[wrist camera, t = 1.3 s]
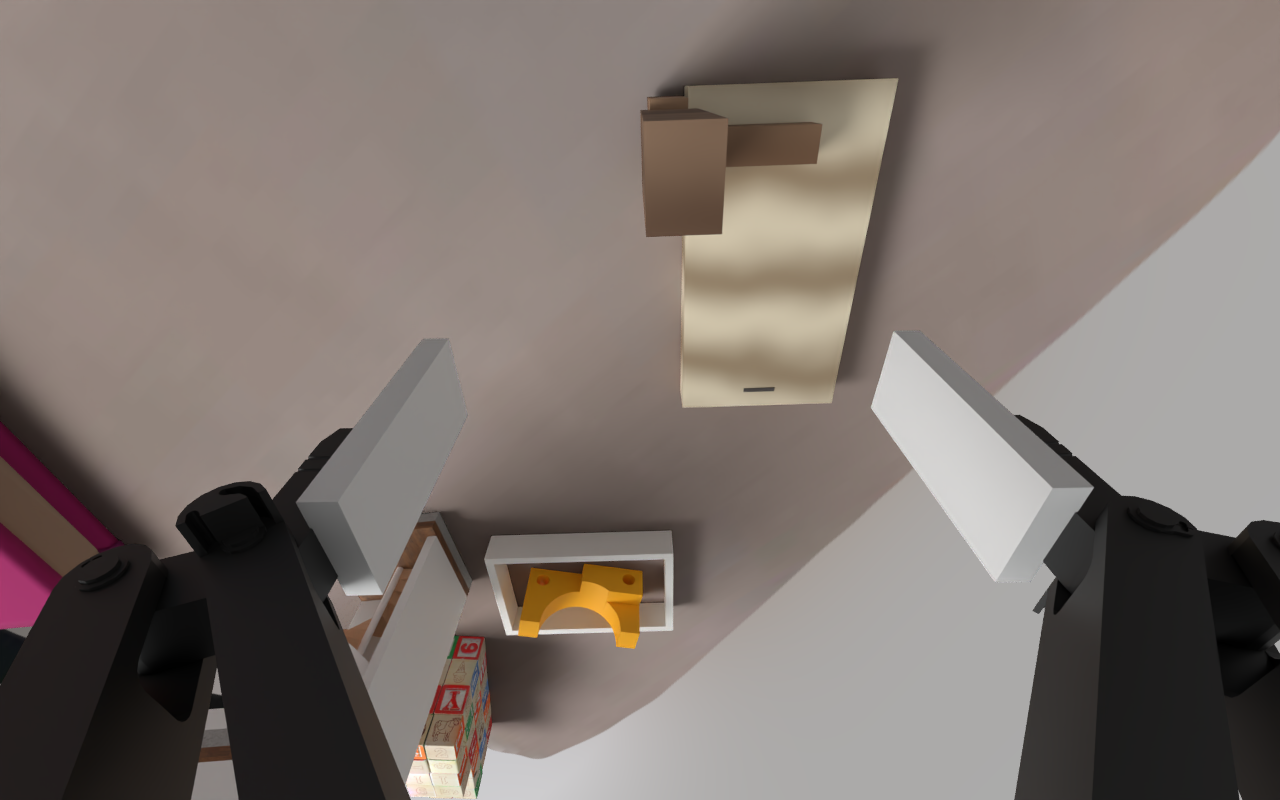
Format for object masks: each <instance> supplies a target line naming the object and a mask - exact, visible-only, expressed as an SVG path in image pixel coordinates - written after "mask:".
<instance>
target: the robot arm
mask: <svg viewBox="0 0 1280 800" xmlns="http://www.w3.org/2000/svg"><path fill="white" fill-rule="evenodd" d="M871 409H872V410H873V411H874V413H875V414H876V416H877V417H878V418H879V420H880V421H881V423H882V424H883V425H884V427H885V428H886V430H887V431H888V432H889V434H890V435H891V437H892V438H893V440H894V441H895V442H896V444H897V445H898V447H899V448H900V449H901V451H902V452H903V454H904V455H905V456H906V458H907V459H908V461H909V462H910V463H911V465H912V466H913V468H914V469H915V470H916V471H917V473H918V474H919V476H920V477H921V479H922V480H923V482H924V483H925V484H926V486H927V487H928V489H929V490H930V491H931V493H932V494H933V496H934V497H935V498H936V500H937V501H938V503H939V504H940V505H941V507H942V508H943V510H944V511H945V512H946V514H947V515H948V517H949V518H950V520H951V521H952V522H953V524H954V525H955V527H956V528H957V529H958V531H959V532H960V534H961V535H962V536H963V538H964V539H965V541H966V542H967V543H968V545H969V546H970V547H971V549H972V550H973V552H974V553H975V555H976V556H977V557H978V559H979V560H980V562H981V563H982V564H983V566H984V567H985V569H986V570H987V571H988V573H989V574H990V576H991V577H992V579H993V580H994V581H995V582H1031V581H1032V579H1033V577H1034V576H1035V575H1036V573H1037V572H1038V570H1039V569H1040V567H1041V566H1042V564H1043V563H1045V564H1046V565H1047V567H1048V568H1049V569H1050V570H1051V572H1052V573H1053V574H1054V575H1055V576H1056V578H1055V579H1054V581H1053V582H1052V583H1051V585H1050V586H1049V588H1048V589H1047V591H1046V592H1045V593H1044V595H1043V596H1042V598H1041V599H1040V600H1039V602H1038V603H1037V605H1036V606H1035V608H1034V609H1033V611H1034V612H1036V613H1038V614H1039V613H1040V612H1041V610H1042V609H1043V608H1045V612H1044V618H1043V625H1042V631H1041V637H1040V644H1039V650H1038V656H1037V662H1036V668H1035V675H1034V681H1033V687H1032V694H1031V700H1030V706H1029V712H1028V718H1027V725H1026V731H1025V737H1024V744H1023V749H1022V756H1021V762H1020V768H1019V775H1018V781H1017V787H1016V793H1015V799H1014V800H1239V793H1240V795H1241V797H1242V800H1280V653H1279V652H1278V650H1277V648H1276V647H1275V645H1274V644H1275V643H1276V642H1277V641H1279V640H1280V523H1279V522H1272V521H1265V520H1261V521H1254V522H1251V523H1250V524H1249V525H1248V526H1247V527H1246V528H1245V529H1244V530H1243V531H1242V532H1241V533H1240V534H1239V535H1238V536H1237V537H1236V538H1234V537H1229V536H1223V535H1219V534H1214V533H1209V532H1204V531H1199V530H1197V528H1195V527H1194V526H1193V525H1192V524H1191V523H1190V522H1189V521H1188V520H1187V519H1186V518H1184V517H1183V516H1181V515H1180V514H1178V513H1176V512H1175V511H1173V510H1172V509H1170V508H1168V507H1165V506H1163V505H1161V504H1158V503H1156V502H1154V501H1151V500H1147V499H1143V498H1139V497H1135V496H1121V495H1120V494H1119V493H1118V492H1116V491H1115V490H1114V489H1113V488H1112V487H1111V486H1109V485H1108V484H1107V483H1106V482H1105V481H1104V480H1102V479H1101V478H1100V477H1099V476H1098V475H1097V474H1096V473H1094V472H1093V471H1092V470H1091V469H1090V468H1089V467H1087V466H1086V465H1085V464H1084V463H1083V462H1082V461H1081V460H1079V459H1078V458H1077V457H1076V456H1072V453H1071V452H1070V451H1069V450H1068V449H1067V448H1065V447H1064V446H1063V445H1062V444H1059V443H1058V442H1059V441H1058V440H1056V439H1055V438H1054V437H1053V436H1052V435H1051V434H1049V433H1048V432H1047V431H1046V430H1045V429H1044V428H1042V427H1041V426H1039V425H1037V424H1035V423H1033V422H1031V421H1030V420H1028V419H1026V418H1024V417H1022V416H1020V415H1013V414H1012V413H1011V412H1010V411H1008V409H1006V408H1005V407H1004V406H1003V405H1002V404H1001V403H1000V402H999V401H998V400H996V399H995V398H994V397H993V396H992V395H991V394H990V393H989V392H988V391H986V390H985V389H984V388H983V387H982V386H981V385H980V384H979V383H978V382H976V381H975V380H974V379H973V378H972V377H971V376H970V375H969V374H967V373H966V372H965V371H964V370H963V369H962V368H961V367H960V366H959V365H957V364H956V363H955V362H954V361H953V360H952V359H951V358H950V357H949V356H947V355H946V354H945V353H944V352H943V351H942V350H941V349H940V348H939V347H937V346H936V345H935V344H934V343H933V342H932V341H931V340H930V339H929V338H927V337H926V336H925V335H924V334H923V333H922V332H921V331H920V330H919V331H894V332H893V336H892V339H891V342H890V346H889V349H888V352H887V356H886V359H885V362H884V366H883V369H882V372H881V376H880V379H879V382H878V386H877V389H876V393H875V396H874V399H873V403H872V406H871ZM467 416H468V413H467V409H466V405H465V401H464V397H463V393H462V389H461V385H460V381H459V377H458V373H457V369H456V365H455V361H454V357H453V353H452V349H451V345H450V341H449V338H445V339H422V341H421V342H420V343H419V344H418V346H417V347H416V348H415V350H414V351H413V352H412V353H411V355H410V356H409V357H408V359H407V360H406V361H405V362H404V364H403V365H402V366H401V368H400V369H399V370H398V371H397V373H396V374H395V375H394V377H393V378H392V379H391V380H390V382H389V383H388V384H387V386H386V387H385V388H384V389H383V391H382V392H381V393H380V395H379V396H378V397H377V398H376V400H375V401H374V402H373V404H372V405H371V406H370V407H369V409H368V410H367V411H366V413H365V414H364V415H363V416H362V418H361V419H360V420H359V422H358V423H357V424H356V425H355V427H354V428H342V429H339V430H337V431H336V432H334V433H333V434H331V435H330V436H329V437H327V438H326V439H324V440H323V441H321V442H320V443H319V445H318V446H317V447H316V448H315V449H314V451H313V452H312V453H311V454H310V455H309V459H308V460H305V461H304V462H303V464H302V465H301V466H300V467H299V468H298V472H295V473H294V474H293V476H292V477H291V478H290V479H289V480H288V482H287V483H286V484H285V485H284V486H283V488H282V489H281V490H280V491H279V492H278V494H277V495H276V496H275V497H274V498H273V500H272V499H271V497H270V495H269V494H268V492H267V490H266V489H265V488H264V487H263V486H262V485H261V484H260V483H255V482H251V481H247V482H236V483H232V484H228V485H225V486H221V487H218V488H216V489H214V490H212V491H210V492H208V493H205V494H203V495H201V496H200V497H199V498H197V499H196V500H194V501H193V502H192V503H190V504H189V505H187V507H186V508H185V509H184V510H183V511H182V512H181V513H180V515H179V516H178V519H177V522H176V527H177V529H178V530H179V531H180V533H181V534H182V535H183V536H184V538H185V539H186V540H187V542H188V543H189V544H190V546H191V547H192V548H193V550H194V551H193V552H189V553H185V554H181V555H177V556H173V557H169V558H165V559H161V560H159V559H158V557H157V556H156V555H155V554H154V553H153V551H152V550H151V549H149V548H148V547H147V546H146V545H140V544H129V545H124V546H119V547H115V548H112V549H109V550H107V551H104V552H101V553H99V554H96V555H94V556H92V557H90V558H89V559H87V560H85V561H83V562H82V563H80V564H79V565H77V566H76V567H75V568H73V569H72V570H71V571H70V572H68V573H67V574H66V575H65V576H63V577H62V578H61V580H60V581H59V582H58V583H57V585H56V586H55V587H54V588H53V590H52V592H51V594H50V595H49V597H48V599H47V601H46V603H45V605H44V606H43V608H42V610H41V612H40V614H39V616H38V617H37V619H36V621H35V623H34V625H33V627H32V629H31V630H30V632H29V634H28V636H27V638H26V639H25V641H24V643H23V645H22V647H21V649H20V651H19V652H18V654H17V656H16V658H15V660H14V662H13V663H12V665H11V667H10V669H9V671H8V673H7V674H6V676H5V678H4V680H3V682H2V684H1V685H0V800H191V797H192V792H193V787H194V782H195V777H196V771H197V766H198V761H199V756H200V751H201V746H202V741H203V736H204V730H205V725H206V720H207V715H208V710H209V705H210V700H211V695H212V690H213V684H214V679H215V674H216V669H217V668H218V674H219V680H220V687H221V693H222V699H223V706H224V712H225V718H226V724H227V730H228V737H229V743H230V749H231V755H232V762H233V768H234V774H235V780H236V787H237V793H238V799H239V800H411V799H410V797H409V794H408V792H407V789H406V787H405V784H404V782H403V779H402V777H401V774H400V772H399V769H398V767H397V764H396V762H395V759H394V757H393V754H392V752H391V749H390V747H389V744H388V742H387V739H386V737H385V734H384V732H383V729H382V727H381V724H380V722H379V719H378V717H377V714H376V711H375V709H374V706H373V704H372V701H371V699H370V696H369V694H368V691H367V689H366V686H365V684H364V681H363V679H362V676H361V674H360V671H359V669H358V666H357V664H356V661H355V659H354V656H353V654H352V651H351V649H350V646H349V644H348V641H347V639H346V636H345V634H344V631H343V629H342V626H341V624H340V621H339V619H338V616H337V614H336V611H335V609H334V606H333V604H332V602H331V600H330V598H329V597H328V593H329V591H330V590H331V588H332V586H333V585H334V583H335V581H336V579H338V581H339V583H340V584H341V586H342V588H343V590H344V592H345V593H346V595H347V596H351V595H383V593H384V591H385V589H386V587H387V585H388V583H389V581H390V578H391V576H392V574H393V572H394V570H395V568H396V566H397V564H398V562H399V559H400V557H401V555H402V553H403V551H404V549H405V547H406V545H407V543H408V540H409V538H410V536H411V534H412V532H413V530H414V528H415V526H416V524H417V521H418V519H419V517H420V515H421V513H422V511H423V509H424V507H425V505H426V502H427V500H428V498H429V496H430V494H431V492H432V490H433V488H434V486H435V483H436V481H437V479H438V477H439V475H440V473H441V471H442V469H443V467H444V464H445V462H446V460H447V458H448V456H449V454H450V452H451V450H452V448H453V445H454V443H455V441H456V439H457V437H458V435H459V433H460V431H461V429H462V426H463V424H464V422H465V420H466V418H467ZM1238 790H1239V793H1238Z"/></svg>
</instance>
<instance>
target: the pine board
mask: <svg viewBox="0 0 1280 800" xmlns="http://www.w3.org/2000/svg"><path fill="white" fill-rule="evenodd" d="M898 79H899V78H889V79H861V80H834V81H807V82H780V83H753V84H726V85H699V86H684V97H688V109H691V108H699V109H702V110H705V111H708V112H711V113H714V114H717V115H720V116H723V117H726V118H728V125H739V124H766V123H794V122H815V123H820V124H822V131H821V138H820V145H819V152H818V159H817V164H801V165H773V166H745V167H726V173H725V191H724V209H723V227H722V234H716V235H687V236H682V298H681V371H680V394H681V400H682V407H683V408H691V407H722V406H754V405H785V404H817V403H832V398H833V393H834V388H835V383H836V379H837V374H838V369H839V364H840V359H841V354H842V350H843V345H844V340H845V335H846V330H847V325H848V321H849V316H850V311H851V306H852V301H853V296H854V292H855V287H856V282H857V277H858V272H859V267H860V262H861V258H862V253H863V248H864V243H865V238H866V233H867V229H868V224H869V219H870V214H871V209H872V204H873V200H874V195H875V190H876V185H877V180H878V175H879V171H880V166H881V161H882V156H883V151H884V146H885V141H886V137H887V132H888V127H889V122H890V117H891V112H892V108H893V103H894V98H895V93H896V88H897V83H898Z"/></svg>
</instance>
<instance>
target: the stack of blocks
mask: <svg viewBox="0 0 1280 800" xmlns="http://www.w3.org/2000/svg"><path fill="white" fill-rule="evenodd" d="M486 665H487V661H486V647H485V638H484V637H473V636H454V638H453V641H452V644H451V647H450V650H449V653H448V656H447V659H446V662H445V666H444V669H443V672H442V675H441V678H440V681H439V684H438V687H437V690H436V693H435V696H434V699H433V702H432V705H431V708H430V711H429V714H428V717H427V720H426V723H425V727H424V730H423V733H422V736H421V739H420V742H419V745H418V748H417V751H416V754H415V757H414V760H413V763H412V766H411V769H410V772H409V775H408V778H407V781H406V784H407V785H406V786H407V789H408V791H409V794H410V796H412V797H429V798H449V799H452V798H463V799H476V798H477V795H478V791H479V786H480V782H481V777H482V769H483V764H484V760H485V755H486V750H487V744H488V740H489V736H490V731H491V726H492V719H491V704H490V691H489V687H488V678H487V667H486Z"/></svg>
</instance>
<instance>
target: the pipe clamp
mask: <svg viewBox="0 0 1280 800" xmlns="http://www.w3.org/2000/svg"><path fill="white" fill-rule="evenodd" d="M642 596H643V578H642V571H638V570H630V569H623V568H615V567H607V566H599V565H592V564H584V566H583V570H582V574H578V573H570V572H562V571H554V570H546V569H538V568H531V571H530V576H529V580H528V585H527V590H526V594H525V599H524V604H523V608H522V613H521V617H520V623H519V631H518V636H526V637H535V638H537V637H538V633H539V630H540V628H541V626H542V624H543V623H544V622H545V620H546V619H547V618H548V617H549V616H551V615H552V614H553V613H555V612H557V611H559V610H561V609H564V608H568V607H584V608H588V609H591V610H593V611H595V612H597V613H598V614H600V615H601V616H602V617H604V618H605V619H606V620H607V622H608V623H609V624H610V626H611V627H612V629H613V632H614V634H615V638H616V647H625V648H634V649H635V646H636V643H637V640H638V637H639V634H640V618H639V605H640V602H641V599H642Z"/></svg>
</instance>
